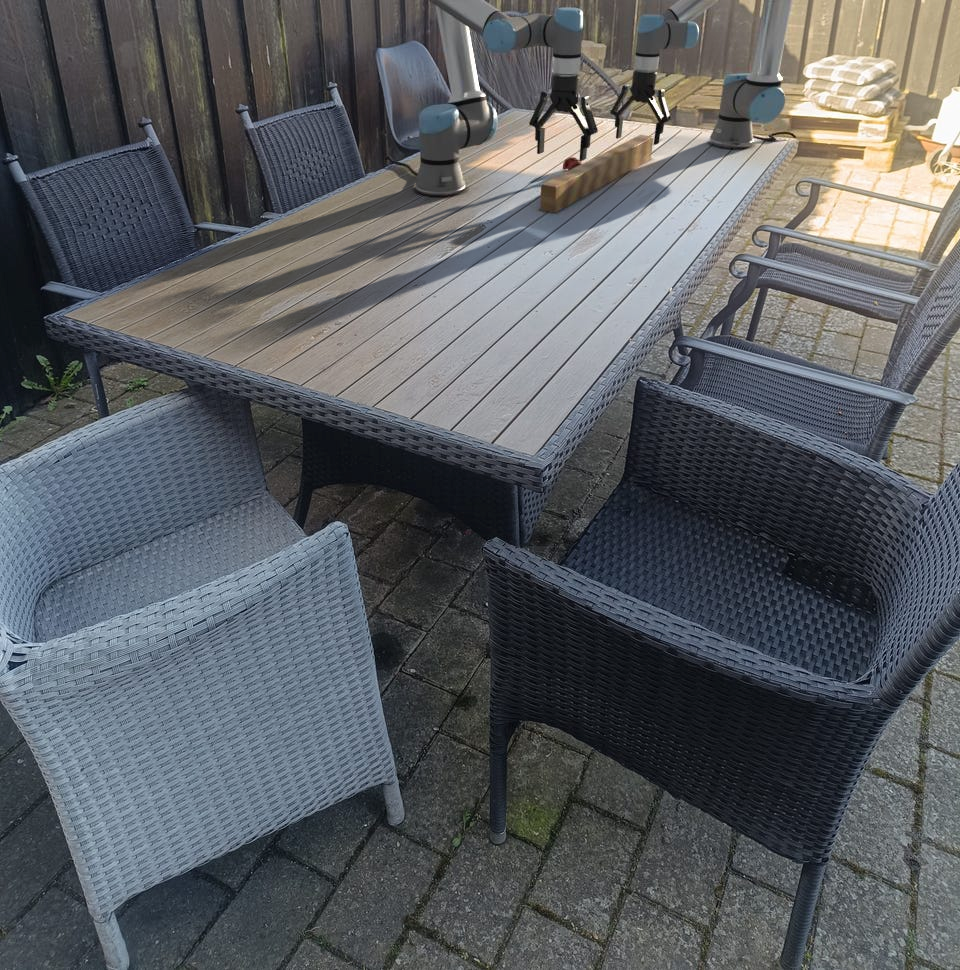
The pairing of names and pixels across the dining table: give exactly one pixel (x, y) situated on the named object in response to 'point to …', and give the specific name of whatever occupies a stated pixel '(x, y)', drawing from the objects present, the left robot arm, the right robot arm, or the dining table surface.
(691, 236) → the dining table surface
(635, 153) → the bar
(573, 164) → the dark red lumpy piece
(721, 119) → the right robot arm
